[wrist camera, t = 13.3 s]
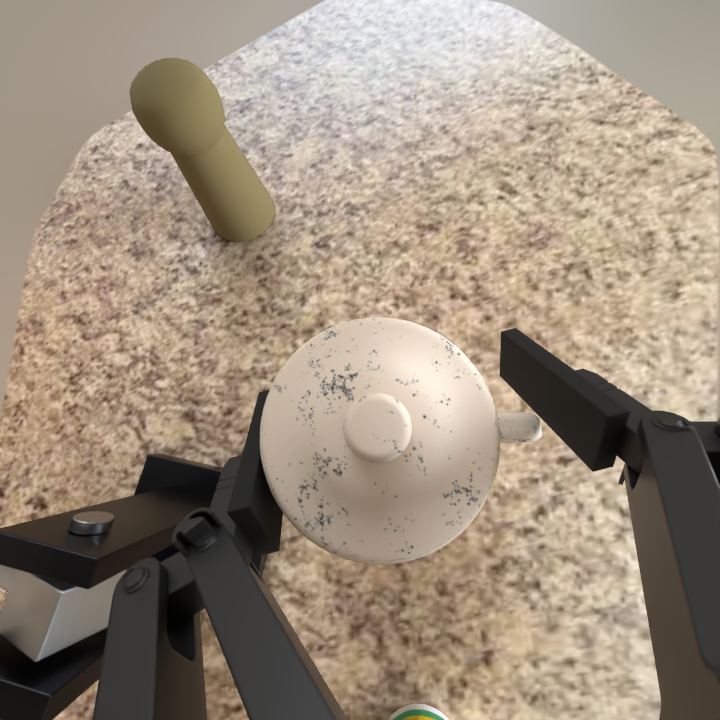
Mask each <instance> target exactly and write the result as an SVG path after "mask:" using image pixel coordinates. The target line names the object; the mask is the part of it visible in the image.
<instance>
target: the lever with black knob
mask: <svg viewBox="0 0 720 720" xmlns="http://www.w3.org/2000/svg"><path fill="white" fill-rule="evenodd" d="M126 571H127V569H126V570H124V571H122V572H121V573H119V574H117V575H115V576H113V577H111V578H109V579H107V580H106V581H104V582H102V583H100V584H98V585H96V586H94V587H92V588H91V589H83V588H80V587H76V586H73V585H69V584H66V583H62V582H59V581H55V580H52V579H48V578H45V577H41V576H38V575H34V574H31V573H27V572H24V571H20V570H16V569H13V568H9V567H6V566H2V565H0V587H1V588H3V589H4V590H6V591H7V592H8V595H7V597H6V600H5V602H4V605H3V607H2V610H1V612H0V635H1V636H2V637H4V638H5V639H6V640H7V641H9V642H10V643H11V644H12V645H14V646H15V647H16V648H17V649H18V650H20V651H21V652H22V653H23V654H25V655H26V656H27V657H28V658H30V659H31V660H32V661H33V662H38V661H40V660H42V659H44V658H46V657H48V656H50V655H53V654H55V653H57V652H59V651H61V650H63V649H65V648H67V647H69V646H71V645H73V644H75V643H77V642H79V641H81V640H83V639H85V638H87V637H89V636H91V635H93V634H95V633H97V632H99V631H101V630H103V629H105V628H107V627H108V621H109V615H110V609H111V603H112V597H113V592H114V589H115V587H116V584H117V583H118V581H119V580H120V578H121V577H122V575H123V574H124V573H125V572H126Z"/></svg>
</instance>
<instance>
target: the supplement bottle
mask: <svg viewBox="0 0 720 720" xmlns="http://www.w3.org/2000/svg"><path fill="white" fill-rule="evenodd" d="M388 720H449V719H448V718H447V717H446V716H445V715H444V714H442V713H441V712H440V711H438V710H437V709H435V708H433V707H431V706H429V705H425V704H419V703H414V704H409V705H406V706H404V707H402V708H400V709H398V710H397V711H395V712H394V713H393V714H392V715H391V716H390V717H389V719H388Z"/></svg>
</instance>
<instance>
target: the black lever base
mask: <svg viewBox="0 0 720 720" xmlns="http://www.w3.org/2000/svg"><path fill="white" fill-rule="evenodd" d="M222 469H223V468H220V467H216V466H211V465H207V464H202V463H198V462H194V461H189V460H185V459H181V458H176V457H172V456H167V455H163V454H150V455H148V457H147V459H146V462H145V465H144V468H143V471H142V474H141V477H140V480H139V483H138V486H137V489H136V491H135V494H134V496H130V497H126V498H122V499H118V500H114V501H110V502H105V503H101V504H97V505H93V506H89V507H85V508H81V509H77V510H73V511H69V512H65V513H61V514H57V515H53V516H49V517H45V518H41V519H37V520H32V521H28V522H24V523H20V524H16V525H12V526H8V527H4V528H0V565H2V566H6V567H9V568H13V569H16V570H20V571H24V572H27V573H31V574H34V575H38V576H41V577H45V578H48V579H52V580H55V581H59V582H62V583H66V584H69V585H73V586H76V587H80V588H83V589H91V588H92V587H94V586H96V585H98V584H100V583H102V582H104V581H106V580H107V579H109V578H111V577H113V576H115V575H117V574H119V573H121V572H122V571H124V570H126V569H127V570H128V569H129V568H130V567H131V566H133V565H134V564H135V563H137V562H138V561H140V560H142V559H145V558H149V557H154V558H155V559H157V560H158V561H159V562H162V561H164V560H165V559H167V558H169V557H171V556H173V555H174V554H176V553H178V552H180V551H179V550H178V549H177V548H176V547H175V546H174V545H173V544H172V534H173V531H174V529H175V527H176V526H177V525H178V523H179V522H180V521H181V520H182V519H183V518H184V517H185V516H186V515H187V514H189V513H190V512H192V511H194V510H196V509H199V508H210V505H211V502H212V499H213V496H214V493H215V491H216V487H217V483H218V482H219V477H220V474H221V471H222ZM266 556H267V554H265V555H261V556H259V555H258V554H257V553H256V551H255V550H254V549H253V551H252V557H251V561H252V562H253V563H254V565H255V567H256V568H257V570H258V572H259V573H260V575H261V577H262V573H263V569H264V565H265V561H266ZM107 628H108V627H107ZM107 628H105V629H103V630H101V631H99V632H97V633H95V634H93V635H91V636H89V637H87V638H85V639H83V640H81V641H79V642H77V643H75V644H73V645H71V646H69V647H67V648H65V649H63V650H61V651H59V652H57V653H55V654H53V655H50V656H48V657H46V658H44V659H42V660H40V661H38V662H33V661H32V660H31V659H30V658H28V657H27V656H26V655H25V654H23V653H22V652H21V651H20V650H18V649H17V648H16V647H15V646H14V645H12V644H11V643H10V642H9V641H7V640H6V639H5V638H4V637H2V636H1V635H0V720H53V719H54V718H55V717H56V716H57V715H58V714H59V713H61V712H62V711H63V710H64V709H65V708H66V707H67V706H69V705H70V704H71V703H72V702H73V701H74V700H75V699H77V698H78V697H79V696H80V695H81V694H82V693H83V692H85V691H86V690H87V689H88V688H89V687H90V686H91V685H93V684H94V683H95V682H96V681H97V680H98V679H99V677H100V671H101V665H102V659H103V652H104V646H105V640H106V634H107Z"/></svg>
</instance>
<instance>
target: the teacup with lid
mask: <svg viewBox="0 0 720 720" xmlns="http://www.w3.org/2000/svg"><path fill="white" fill-rule="evenodd" d="M541 435H542V430H541V424H540V420H539V418H538V417H537V416H536V415H534V414H531V413H520V412H507V413H496V409H495V406H494V402H493V400H492V397H491V395H490V392H489V390H488V388H487V386H486V384H485V382H484V380H483V378H482V377H481V375H480V373H479V372H478V370H477V369H476V368H475V366H474V365H473V364H472V362H471V361H470V360H469V359H468V358H467V357H466V356H465V355H464V353H463V352H461V351H460V350H459V349H458V348H457V347H456V346H455V345H454V344H452V343H451V342H450V341H448V340H447V339H446V338H444V337H442V336H441V335H439V334H438V333H436V332H434V331H432V330H430V329H428V328H426V327H423V326H421V325H418V324H416V323H412V322H409V321H405V320H400V319H394V318H382V317H373V318H362V319H356V320H351V321H348V322H344V323H341V324H338V325H336V326H333V327H331V328H329V329H327V330H325V331H322V332H321V333H319V334H318V335H316V336H314V337H313V338H311V339H310V340H309V341H307V342H306V343H305V344H303V345H302V346H301V347H300V348H299V349H298V350H297V351H296V352H295V353H294V354H293V355H292V356H291V357H290V358H289V359H288V361H287V362H286V363H285V364H284V366H283V367H282V369H281V370H280V372H279V373H278V375H277V376H276V378H275V380H274V382H273V384H272V386H271V388H270V391H269V393H268V396H267V398H266V402H265V405H264V408H263V413H262V418H261V426H260V453H261V460H262V465H263V470H264V473H265V477H266V480H267V483H268V485H269V488H270V490H271V493H272V495H273V497H274V498H275V500H276V502H277V504H278V506H279V507H280V509H281V510H282V512H283V513H284V515H285V516H286V517H287V518H288V520H289V521H290V522H291V523H292V524H293V525H294V526H295V527H296V528H297V529H298V531H299V532H301V533H302V534H303V535H304V536H305V537H307V538H308V539H309V540H310V541H312V542H313V543H315V544H316V545H318V546H319V547H321V548H323V549H324V550H326V551H328V552H330V553H332V554H335V555H337V556H339V557H342V558H345V559H348V560H352V561H356V562H361V563H367V564H396V563H402V562H408V561H411V560H415V559H418V558H421V557H424V556H426V555H428V554H431V553H433V552H435V551H437V550H438V549H440V548H442V547H444V546H445V545H447V544H448V543H449V542H451V541H452V540H454V539H455V538H456V537H457V536H458V535H459V534H461V533H462V532H463V531H464V530H465V529H466V528H467V527H468V525H469V524H470V523H471V522H472V521H473V520H474V518H475V517H476V516H477V514H478V513H479V511H480V510H481V508H482V506H483V505H484V503H485V501H486V499H487V497H488V495H489V493H490V491H491V488H492V485H493V482H494V479H495V476H496V472H497V467H498V462H499V454H500V443H516V442H534V441H537V440H539V439H540V438H541Z"/></svg>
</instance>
